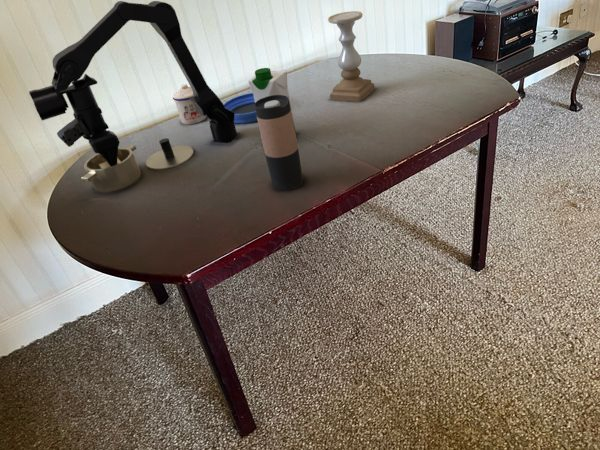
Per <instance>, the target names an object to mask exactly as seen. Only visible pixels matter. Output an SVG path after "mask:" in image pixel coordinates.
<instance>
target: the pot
mask: <svg viewBox="0 0 600 450" xmlns="http://www.w3.org/2000/svg"><path fill="white" fill-rule="evenodd" d="M136 150H137V147H136V145H130V144H129V145H127V146H126V147H118V156H117V158H118V159H119V160H120V161H121V162H120V163H118V164H116V165H114V166H110V167H107V168H103V169H101V168H100V165H99V164H101V163H104V162H106V159H104V158H103V156H102V155H101V154H99V153H95V154H94V155H93V156H91V157H90V158H88V159H87V160H86V161H85V163H84V164H83V165H84V166H83V168H84V170H85V172H86V174H85V175H83V176H81V180H82V182H86V183H87V182H89V183H91V185H92V188H93V190H95V191H96V192H98V193H110V192H116V191H120V190H123V189H124V188H127V187H129V186H131V185H132V184H134V183H135V182H136V181H138V180H139V179H140V177H141V176H142V173H141V169H140V166H139V165H138V162H137V159H136V157H135V155H134V151H136Z"/></svg>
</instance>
